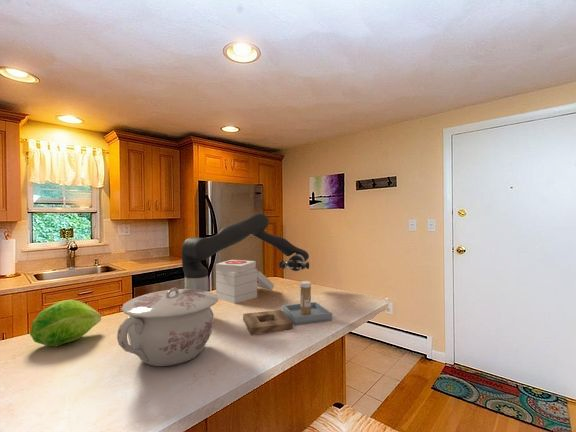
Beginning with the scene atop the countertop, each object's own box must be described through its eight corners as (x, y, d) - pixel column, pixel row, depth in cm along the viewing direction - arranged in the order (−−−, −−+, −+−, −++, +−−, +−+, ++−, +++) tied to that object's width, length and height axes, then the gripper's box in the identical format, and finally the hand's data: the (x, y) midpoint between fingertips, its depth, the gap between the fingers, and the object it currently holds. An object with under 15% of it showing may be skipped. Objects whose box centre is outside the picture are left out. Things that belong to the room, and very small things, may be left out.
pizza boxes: (277, 292, 163) (277, 259, 163) (233, 305, 140) (233, 267, 140) (253, 286, 176) (253, 256, 175) (209, 297, 153) (209, 262, 153)
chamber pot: (208, 331, 110) (207, 275, 110) (228, 364, 86) (228, 293, 85) (121, 346, 97) (120, 283, 97) (116, 391, 73) (116, 307, 73)
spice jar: (309, 316, 123) (309, 283, 123) (299, 314, 125) (299, 282, 124) (312, 312, 128) (312, 281, 127) (301, 311, 129) (301, 280, 129)
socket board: (250, 335, 106) (250, 328, 106) (243, 319, 122) (243, 313, 122) (293, 329, 111) (293, 323, 111) (280, 315, 127) (280, 309, 127)
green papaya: (110, 336, 105) (110, 298, 105) (37, 359, 89) (37, 313, 89) (92, 326, 114) (92, 291, 114) (23, 345, 98) (23, 304, 98)
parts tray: (294, 325, 116) (294, 317, 116) (282, 312, 131) (282, 305, 131) (331, 320, 121) (331, 313, 121) (315, 308, 136) (315, 301, 136)
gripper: (282, 254, 152) (277, 258, 136) (310, 255, 150) (308, 259, 134) (282, 269, 152) (277, 274, 136) (310, 270, 150) (308, 275, 134)
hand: (292, 266), depth 135 cm, fingers open, 8 cm apart
